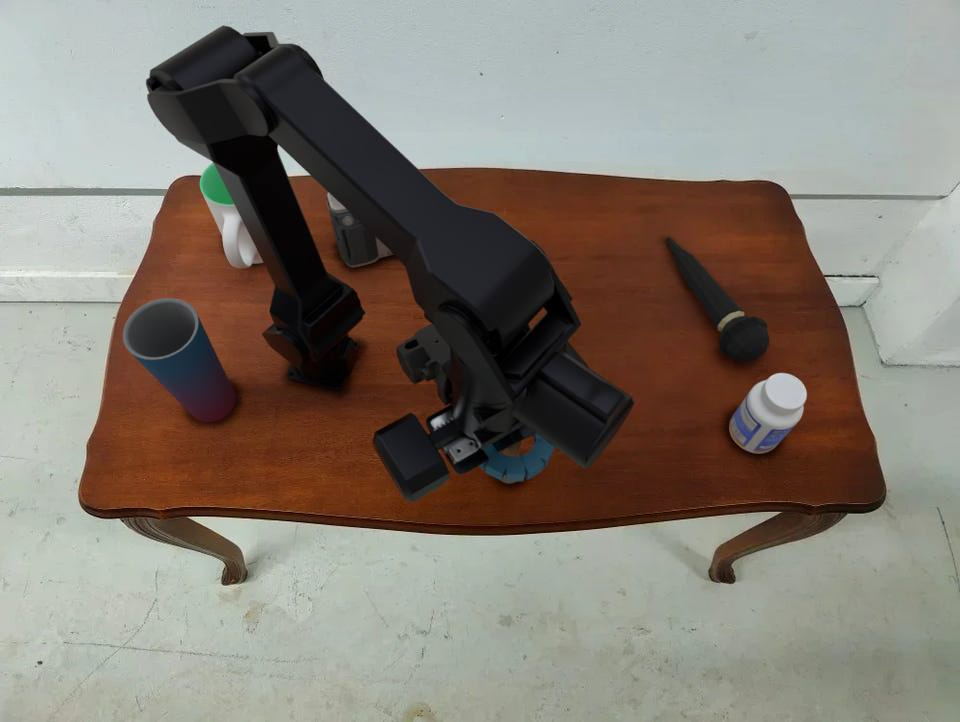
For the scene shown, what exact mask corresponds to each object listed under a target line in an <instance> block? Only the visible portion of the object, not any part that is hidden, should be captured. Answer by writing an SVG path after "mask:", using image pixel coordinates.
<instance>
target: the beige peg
mask: <svg viewBox="0 0 960 722" xmlns="http://www.w3.org/2000/svg"><path fill="white" fill-rule="evenodd" d="M521 445H522V441H520V442H518V443H516V444H514V445H512V446H510V447H508V448H506V449H504V450H502V454H504V455H506V456H508V457H512V456H520V451H521V447H522V446H521ZM501 482H502V483H505V484H514V483H515V482H506V481H505V475H504V477H503V479H502V481H501Z"/></svg>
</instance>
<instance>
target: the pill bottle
mask: <svg viewBox="0 0 960 722" xmlns="http://www.w3.org/2000/svg"><path fill="white" fill-rule="evenodd" d="M807 396H808V391H807V389H806V386H805V385H804V383H803V382H802V381H801V380H800V379H799V378H797V377H796V376H795V375H793V374H791V373H785V372H778V373H774V374H772V375H771V376H769V377H768V378H767V379H765V380H761V381H759V382H758V383H756V384H755V385H754V386H752V388H751V389H750V390H749V392H748V393H747V395H746V396H745V397H744V399H743V400H742V402H741V403H740V405H739V406H738V408H737V409H736V411H734V413H733V415H732V417H731V418H730V420H729V424H728V425H729V427H728V428H729V433H730V437H731V439H732V440H733V441H734V442H735V444H736V445H737V446H739V448H741V449H742V450H744V451H746V452H749V453H752V454H758V455H759V454H766V453H769V452H770V451H772V450H773V449H775V448H776V447H777V446H778V445H779V444H780V443H781V442H782V441H783V439H784V438H785V437H787V435H788V434H789V433H790V432H791V431H792V429H794V427H795V426H796V425H797V424H798V423H799V422H800V420H801V418H802V416H803V414H804V410H805V409H804V404H805V403H806V401H807V398H808V397H807Z"/></svg>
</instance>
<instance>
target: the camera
mask: <svg viewBox="0 0 960 722" xmlns="http://www.w3.org/2000/svg"><path fill="white" fill-rule="evenodd" d="M326 193H327V194H326V196H325V200H326V201H325V202H326V206H327V209H328V213H329V217H330V221H331V225H332V229H333V236H334V238H335V242H336V246H337V249H338V251H339V255H340V258H341V259H342V261H343V262H344V264H345V265H347V266H348V267H349V268H352V269H353V268H354V269H355V268H360V267H364V266H367V265H371V264H374V263H375V262H377V261H378V260H379V259H381V258H385V257H389V256H393V255H394V254H393V253H392V252H391V251H390V250H389V249H388V248H387V247H386V246H385V245H384V244H383V243H382V242H381V241H380V240H379V239H378V238H376V237H375V236H374V235H373V234H372V233H371V232H370V231H369V230H368V229H367V228H366V227H365V226H364V225H363V224H362V223H361V222H360V221H358V220H357V219H356V218H355V217H354V216H353V215H352V214H351V213H350V212H349V211H348V210H347V209H346V208H345V207H344V206H343V205H342V204H341V203H339V202H338V201H337V200H336V199H335V198H334V197H333V196H332V195H331V194H330V193H329V192H328V191H327V192H326ZM394 256H395V255H394Z"/></svg>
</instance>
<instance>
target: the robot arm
mask: <svg viewBox="0 0 960 722" xmlns="http://www.w3.org/2000/svg"><path fill="white" fill-rule="evenodd" d="M148 76H149V77H148V78H146V79H145V85H146V89H147V92H148V93H147V94H146V98H147V99H146V101H147V103H148V106H149V107H150V110H151V111H152V113H153V114H154V116H155V117H156V119H157V120H158V121H159V123H160V124H161V125H162V127H164V128H165V129H166V131H168V133H169V134H171V135H172V136H173V137H174V138H175V139H176V141H177V142H178V143H180V144H182V145H183V146H185V147H187V148H188V149H190V150H192V151H194V152H195V153H197V154H198V155H200V156H202V157H204V158H206V159H207V160H209V161H211V162H212V163H214V165H215V167H216V169H217V171H218V173H219V175H220V177H221V179H222V181H223V183H224V185H225V187H226V189H227V191H228V193H229V195H230V197H231V199H232V201H233V203H234V205H235V207H236V209H237V211H238V213H239V215H240V217H241V219H242V221H243V223H244V225H245V227H246V229H247V231H248V233H249V235H250V237H251V239H252V241H253V243H254V245H255V247H256V249H257V251H258V253H259V255H260V257H261V258H262V260H263V262H264V263H263V264H264V267H265V269H266V271H267V273H268V274H269V276H270V279H271V280H272V283H273V285H274V288H273V293H272V297H271V302H270V307H269V312H268V313H269V315H270V317H271V320H272V322H273V323H272V324H271V325H270V326H269V327H268V328H266V329H265V330H264V331H263V332H261V336H262V337H263V339H264V340H265V342H266V343H267V345H268V346H269V347H270V348H271V349H272V350H273V351H274V352H276V353H277V354H278V355H279V356H281V357H282V358H284V359H285V360H286V361H288V363H290V364H291V365H290V366H289V368H288V371H287V373H286V377H287V379H288V380H290V381H292V382H297V383H300V384H305V385H309V386H313V387H317V388H322V389H326V390H328V391H329V390H330V391H334V392H341V391H342V390H343V388H344V386H345V383H346V382H347V379H348V377H349V376H351V375H352V372H353V370H354V368H355V366H356V363H357V360H358V358H359V356H358V352H359V350H360V343H359V342H358V341H356V340H354V339H353V337H351V336H349V333H350V332H351V331H352V330H353V329H354V328H355V327H356V326H357V325H358V324H360V323H361V321H363V319H364V316H365V314H366V311H365V310H364V308H363V307H362V302H361V299H360V298H359V295H358V292H357V291H356V290H355V289H354V288H353V287H351V286H350V285H349V284H347V283H345V282H344V281H343V280H341V279H340V278H337V277H336V276H334V275H332V274H331V273H329V272H328V271H327V270H326V267H325V264H324V262H323V260H322V256H321V255H320V251H319V250H318V247H317V244H316V242H315V240H314V237H313V234H312V232H311V229H310V227H309V225H308V223H307V220H306V218H305V214H304V212H303V210H302V207H301V205H300V203H299V200H298V197H297V195H296V192H295V190H294V188H293V185H292V182H291V181H290V178H289V175H288V173H287V170H286V168H285V166H284V165H285V164H284V163H283V160H282V158H281V155H280V153H279V147H280V148H281V149H282V150H283V151H284V152H285V153H286V154H287V155H289V156H290V157H291V158H292V159H293V160H294V161H295V162H296V163H297V165H299V166H300V167H301V168H302V169H304V171H305V172H307V173H308V174H309V175H310V176H311V177H312V178H313V179H314V181H316V182H317V183H318V184H319V185H320V186H321V187H322V188H323V189H325V191H327V193H328V192H329V193H330V194H331V195H332V196H333V197H334V198H335V199H336V200H337V201H338V202H339V203H341V204H342V205H343V206H344V207H345V208H346V209H347V210H348V211H349V212H350V213H351V214H352V215H353V216H354V217H355V218H356V219H357V220H358V221H360V222H361V223H362V224H363V225H364V226H365V227H366V228H367V229H368V230H369V231H370V232H371V233H372V234H373V235H374V236H375V237H376V238H378V239H379V240H380V241H381V242H382V243H383V244H384V245H385V246H386V247H387V248H388V249H389V250H390V251H391V252H392V253H393V254H394V257H395V258H397V260H398V261H399V262H401V264H402V265H403V266H404V268H405V270H406V275H407V277H408V281H409V285H410V288H411V292H412V296H413V299H414V302H415V303H416V304H417V306H418V307H419V308H420V309H421V310H422V311H423V312H424V313H423V317H424V319H425V320H426V321H428V322H429V323H430V324H428V325H426V326H424V327H422V328H420V329H418V330H416V332H414V335H412V336H411V337H409V338H407V339H405V340H404V341H403V342H401V343H399V344H398V345H396V348H395V349H396V357H397V360H398V363H399V366H400V368H401V371H402V372H403V373H404V374H405V375H406V377H407V378H408V379H409V380H410V382H411V383H412V384H413V385H417V384H419V383H421V382H423V381H426V382H427V383H429V382H430V381H432V380H433V381H434V383H435V384H436V392H437V396H438V398H439V399H440V401H441V402H442V404H443V406H445V407H443V408H442V409H439V410H437V411H436V412H434V413H432V414H431V415H429V416H427V418H426V420H425V426H426V427H427V430H428V432H429V433H428V432H427V431H426V430H425V428H424V426H423V425H422V423H421V422H420V420H419V418H418V417H417V416H416V414H414V413H413V412H409V413H406V414H405V415H403V416H402V417H400V418H398V419H396V420H394V421H393V422H390V423H388V424H387V425H385V426H383V427H381V428H379V429H377V430H376V431H374V434H373V438H372V445H373V449H374V452H375V453H376V454H377V456H378V458H379V460H380V461H381V463H382V464H383V467H384V468H385V469H386V471H387V473H388V475H389V476H390V478H391V480H392V481H393V483H394V485H395V487H396V488H397V490H398V491H399V493H400V495H401V496H402V498H403V500H404V501H408V502H411V503H415V502H417V501H418V500H420V499H422V498H424V497H425V496H427V495H429V494H431V493H433V492H434V491H436V490H438V489H440V488H442V486H444V484H446V482H447V481H448V480H449V479H450V478H451V472H450V470H449V468H448V466H447V463H446V461H445V459H446V460H447V461H448V463H449V464H450V466H451V468H452V469H453V471H454V473H456V475H460V476H463V475H466V474H467V473H469V472H471V471H472V470H475V469H476V468H478V467H480V466H479V465H481V464H483V463H485V462H486V461H488V460H489V458H488V456H487V455H486V453H485V452H484V450H483V448H485V447H487V446H489V445H490V444H493V445H494V447H495V448H496V450H497V451H498V452H500V453H501V452H503V450H504V449H506V448H508V447H510V446H512V445H514V444H516V443H518V442H520V441H521V442H522V441H524V440H525V439H528V438H529V437H531V436H532V435H533V434H534V433H536V434H538V435H539V436H540V437H542V438H543V439H545V440H546V441H547V442H549V443H550V444H552V445H553V446H554V448H555V449H557V450H559V452H561V453H563V454H564V455H565V456H567V457H568V458H569V459H571V460H572V461H574V462H575V463H576V464H578V465H579V466H580V467H582V468H583V469H585V470H587V469H589V468H590V467H591V466H593V464H594V463H595V462H596V461H597V459H599V457H600V456H601V455H602V454H603V452H604V451H605V450H606V449H607V447H608V446H609V445H610V444H611V442H612V440H613V439H614V437H616V435H617V433H618V432H619V431H620V429H621V427H622V426H623V424H624V423H625V421H626V420H627V418H628V417H629V414H630V413H631V411H632V409H633V407H634V405H635V403H636V401H635V400H633V396H632V395H630V394H629V393H628V392H626V391H624V390H623V389H621V388H620V387H619V386H617V385H615V384H614V383H612V381H609V380H608V379H606V378H605V377H603V376H602V375H600V374H599V373H598V372H596V371H595V370H593V369H591V367H590V366H589V365H588V364H587V362H586V361H585V360H584V359H583V358H582V357H581V355H580V354H579V352H578V351H577V350H576V349H575V347H574V346H573V345H572V344H571V343H570V341H569V340H570V339H571V338H572V336H574V334H575V333H576V332H577V331H578V330H579V329H580V328H581V326H582V321H581V320H580V318H579V316H578V313H577V311H576V309H575V307H574V306H573V304H572V301H573V300H574V298H573V297H572V295H571V294H570V293H569V291H568V290H567V288H566V286H565V285H564V284H563V282H562V280H561V279H560V277H559V275H558V274H557V272H556V270H555V268H554V266H553V264H552V263H551V260H550V259H549V257H548V255H547V253H546V252H545V251H544V250H543V248H542V247H541V246H540V245H539V244H538V243H536V241H534V240H532V239H530V238H529V237H526V236H525V235H524V234H523V233H522V232H520V231H519V230H517V228H515V227H514V226H512V225H511V224H510V223H508V222H507V221H506V220H505V219H503V218H502V217H501V216H500V215H498V214H497V213H495V212H493V211H489V210H484V209H479V208H476V207H471V206H468V205H463V204H459V203H457V202H456V201H455V200H453V199H452V198H451V197H450V196H448V195H447V194H445V192H444V191H442V190H441V189H440V188H439V187H438V186H437V185H436V184H435V183H434V182H433V181H432V180H431V179H430V178H428V177H427V175H425V174H424V173H423V172H422V171H421V170H420V169H419V168H418V167H417V166H416V165H414V163H413V162H412V161H410V159H409V158H407V156H405V155H404V154H403V153H402V152H401V151H400V150H399V149H398V148H397V147H396V146H394V144H393V143H391V142H390V141H389V139H388V138H387V137H385V136H384V135H383V134H382V133H381V132H380V131H379V130H378V129H377V128H376V127H374V126H373V125H372V124H371V122H370V121H368V120H367V119H366V118H365V117H364V116H363V115H362V114H361V113H360V112H359V111H358V110H357V109H356V108H355V107H353V106H352V105H351V103H349V102H348V101H347V100H346V99H345V97H343V96H342V95H341V94H340V93H339V92H338V91H336V90H335V88H333V87H332V86H331V84H329V83H328V82H327V81H326V80H325V78H324V75H323V72H322V70H321V68H320V67H319V65H318V63H317V62H316V60H315V59H314V58H313V56H312V55H311V54H310V53H309V52H308V51H307V50H306V49H304V47H301V46H300V45H299V44H295V43H280V42H279V40H278V39H277V37H276V35H275V32H274V31H255V32H251V31H250V32H244V33H241V32H240V31H238V30H236V29H234V28H233V27H231V26H229V25H225V24H224V25H221V26H219V27H217V28H215V29H214V30H213V31H211V32H209V33H208V34H206V35H205V36H202V37H201V38H199V39H198V40H197V41H195V42H193V43H192V44H190V45H188V46H187V47H185V48H183V49H181V50H180V51H178V52H177V53H175V54H174V55H172V56H170V57H169V58H167V59H166V60H164V61H162V62H161V63H159V64H157V65H156V66H155V67H153V68H151V69H150V70H149V75H148ZM543 309H544V310H545V313H544V314H543V315H542V317H540V319H538V321H537V322H536V323H535V324H534V325H533V326H532V327H530V323H531V321H533V319H535V317H536V316H537V315H538V314H539V313H540V312H541V311H542V310H543ZM291 375H292V376H291ZM338 386H339V387H338ZM440 450H441V452H442V454H443V455H444V457H445V459H444V458H443V456H442V454H441V453H440Z"/></svg>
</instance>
